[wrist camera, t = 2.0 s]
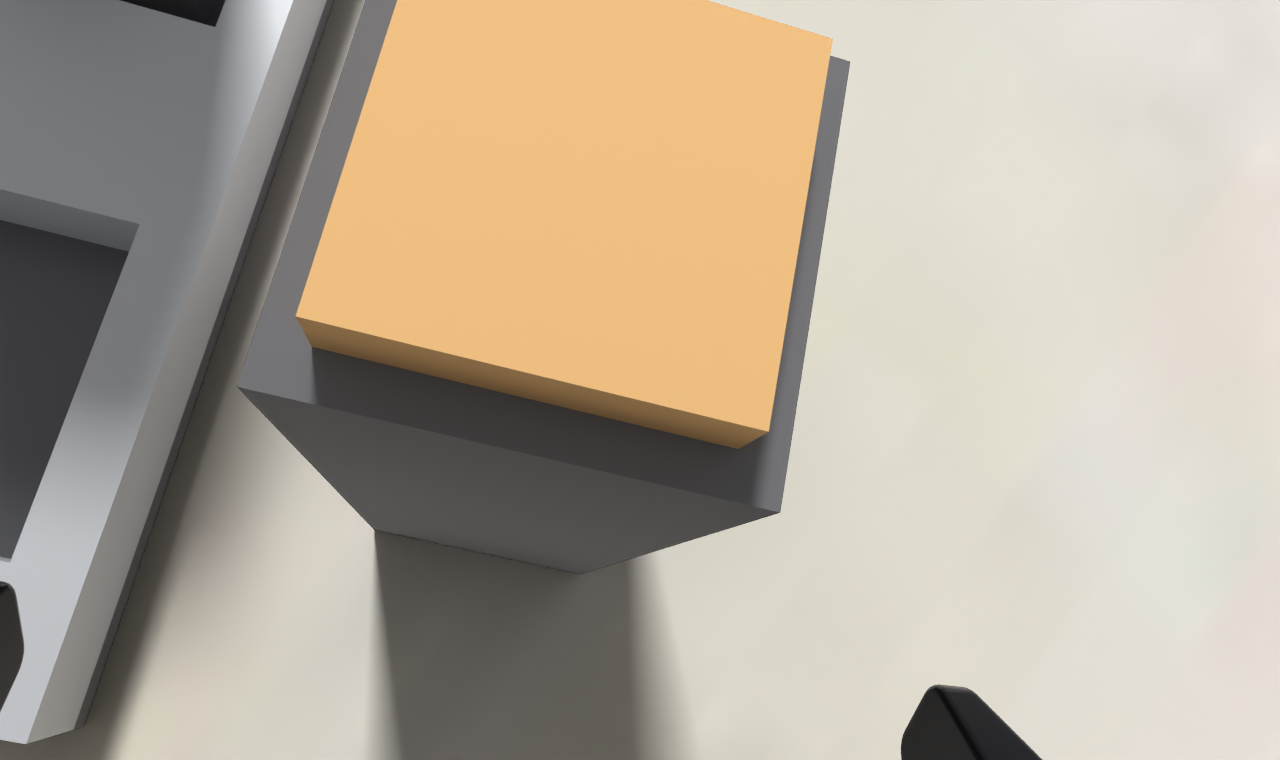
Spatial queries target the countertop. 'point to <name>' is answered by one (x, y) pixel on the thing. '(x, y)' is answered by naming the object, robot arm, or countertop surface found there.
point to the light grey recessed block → (117, 290)
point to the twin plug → (181, 8)
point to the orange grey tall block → (555, 273)
